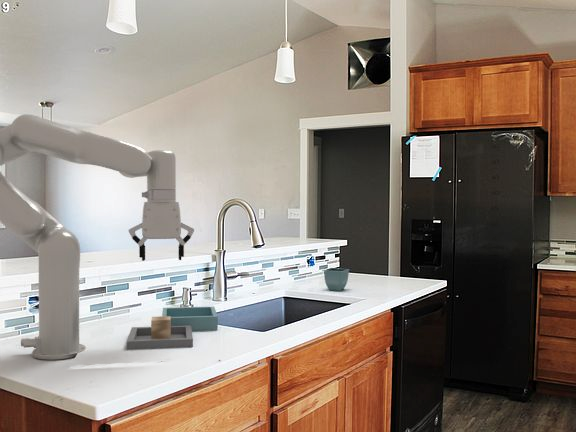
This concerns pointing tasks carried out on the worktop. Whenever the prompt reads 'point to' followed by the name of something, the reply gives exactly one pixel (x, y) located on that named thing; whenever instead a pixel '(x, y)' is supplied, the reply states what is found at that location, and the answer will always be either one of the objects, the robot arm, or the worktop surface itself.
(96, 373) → the worktop surface
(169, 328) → the oak block
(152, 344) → the bin
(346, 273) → the flower pot
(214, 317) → the tray
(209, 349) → the worktop surface
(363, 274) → the worktop surface
